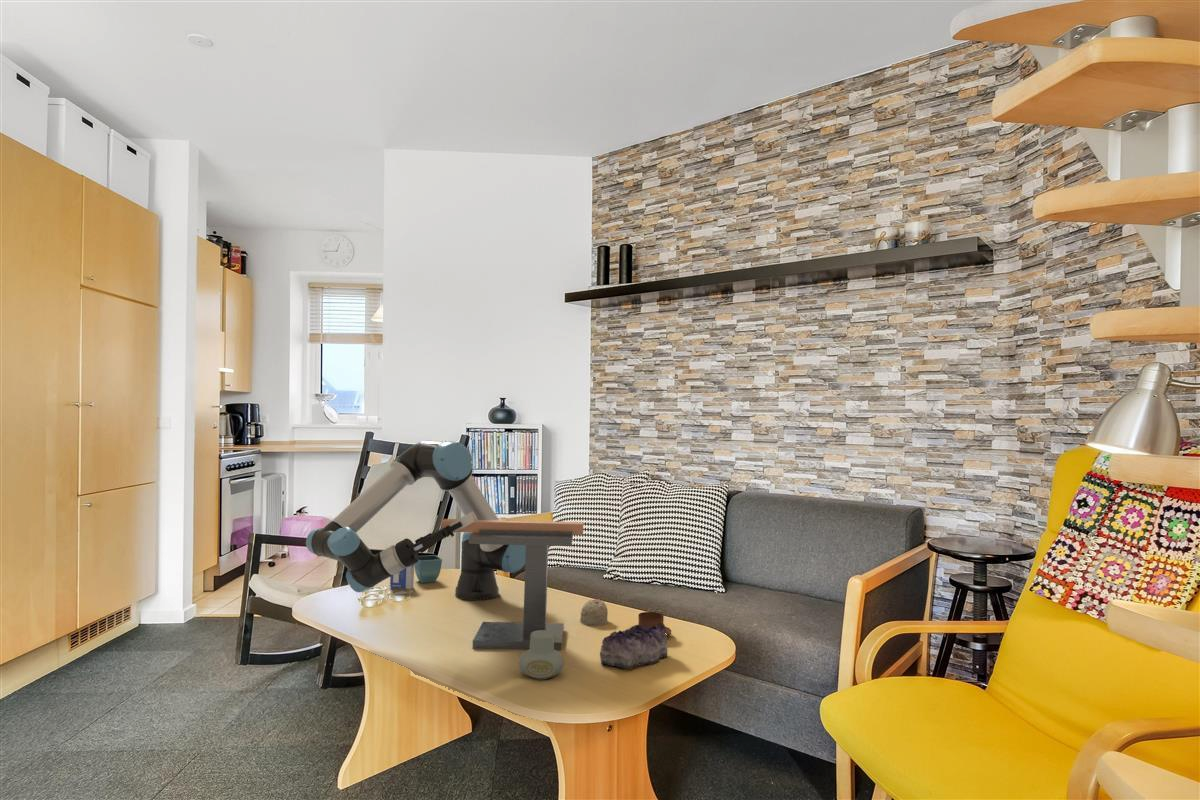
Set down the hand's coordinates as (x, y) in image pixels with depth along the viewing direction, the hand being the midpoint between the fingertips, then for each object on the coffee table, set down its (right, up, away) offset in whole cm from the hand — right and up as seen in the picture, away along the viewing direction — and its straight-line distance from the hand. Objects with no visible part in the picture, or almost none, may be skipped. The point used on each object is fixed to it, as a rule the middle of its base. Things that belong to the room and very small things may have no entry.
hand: (473, 516), depth 193 cm
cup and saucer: (+51, -36, +5) cm, 63 cm away
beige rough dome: (+34, -36, +17) cm, 53 cm away
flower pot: (-30, -36, +65) cm, 80 cm away
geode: (+45, -35, -16) cm, 60 cm away
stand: (+13, -35, -1) cm, 37 cm away
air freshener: (+22, -34, -28) cm, 49 cm away
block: (+11, -4, 0) cm, 12 cm away
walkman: (-36, -36, +54) cm, 74 cm away
